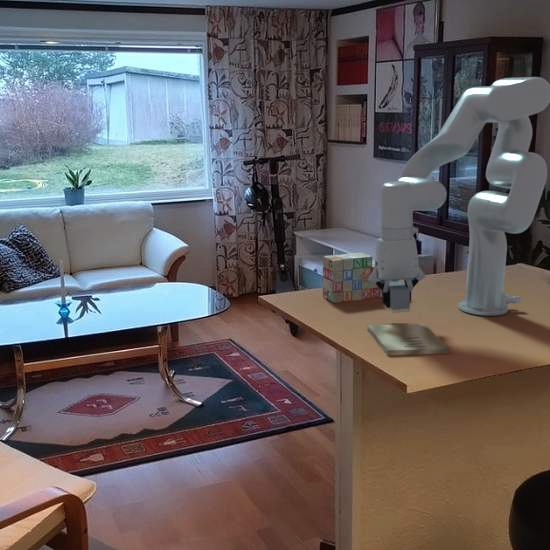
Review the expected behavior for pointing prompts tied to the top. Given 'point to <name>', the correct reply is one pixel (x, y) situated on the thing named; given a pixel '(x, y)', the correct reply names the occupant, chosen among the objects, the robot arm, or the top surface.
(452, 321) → the top surface
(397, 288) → the block
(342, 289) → the stack of blocks
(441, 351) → the board
